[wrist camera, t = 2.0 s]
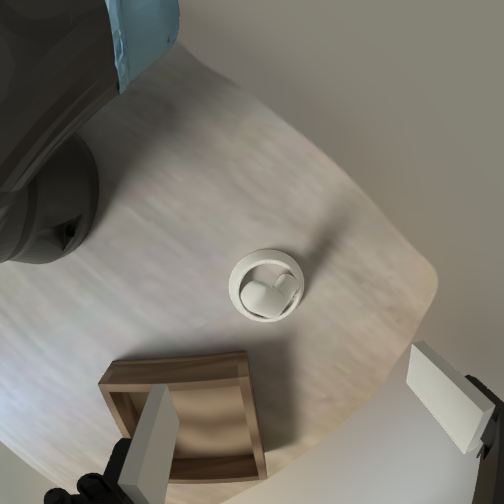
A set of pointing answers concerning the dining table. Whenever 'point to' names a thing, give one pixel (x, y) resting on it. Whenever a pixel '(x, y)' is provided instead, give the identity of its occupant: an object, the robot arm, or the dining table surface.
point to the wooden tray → (195, 413)
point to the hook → (266, 287)
